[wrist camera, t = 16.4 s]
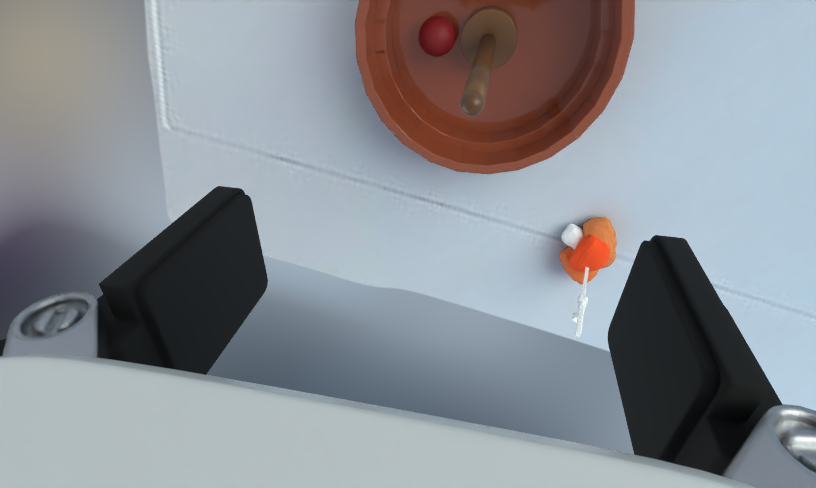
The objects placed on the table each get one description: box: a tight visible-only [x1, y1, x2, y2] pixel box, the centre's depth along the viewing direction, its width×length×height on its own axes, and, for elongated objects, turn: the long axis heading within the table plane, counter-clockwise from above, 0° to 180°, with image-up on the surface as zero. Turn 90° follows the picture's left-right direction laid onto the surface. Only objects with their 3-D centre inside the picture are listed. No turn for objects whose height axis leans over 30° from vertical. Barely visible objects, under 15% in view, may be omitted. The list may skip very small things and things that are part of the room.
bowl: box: [355, 0, 635, 174], centre depth 35 cm, size 20×20×6 cm
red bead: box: [419, 16, 456, 57], centre depth 36 cm, size 3×3×3 cm
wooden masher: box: [460, 6, 517, 116], centre depth 29 cm, size 4×4×19 cm
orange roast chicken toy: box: [559, 218, 616, 338], centre depth 42 cm, size 6×10×12 cm, turn 166°
